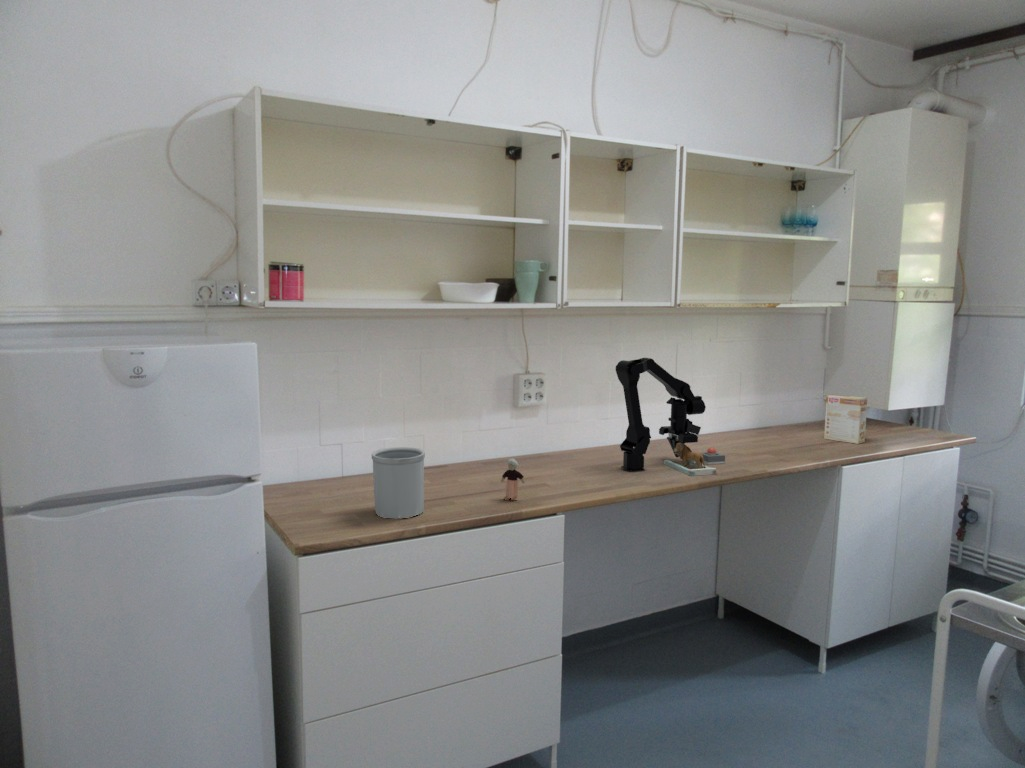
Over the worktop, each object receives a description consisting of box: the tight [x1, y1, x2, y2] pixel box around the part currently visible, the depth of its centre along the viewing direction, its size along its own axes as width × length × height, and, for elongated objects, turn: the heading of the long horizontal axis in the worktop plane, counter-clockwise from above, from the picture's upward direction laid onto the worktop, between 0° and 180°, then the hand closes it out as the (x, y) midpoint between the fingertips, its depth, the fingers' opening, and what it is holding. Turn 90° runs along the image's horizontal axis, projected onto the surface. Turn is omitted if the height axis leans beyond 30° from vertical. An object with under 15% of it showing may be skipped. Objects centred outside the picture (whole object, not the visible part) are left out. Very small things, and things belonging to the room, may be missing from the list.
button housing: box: [700, 451, 726, 465], centre depth 273 cm, size 7×7×3 cm
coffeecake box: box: [823, 394, 868, 445], centre depth 314 cm, size 15×7×20 cm, turn 42°
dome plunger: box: [706, 447, 717, 455], centre depth 272 cm, size 3×3×4 cm
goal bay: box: [663, 459, 717, 477], centre depth 261 cm, size 10×19×2 cm, turn 17°
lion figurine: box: [673, 443, 706, 469], centre depth 260 cm, size 15×5×9 cm, turn 42°
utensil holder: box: [371, 446, 426, 518], centre depth 206 cm, size 15×15×18 cm
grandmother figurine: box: [500, 458, 526, 501], centre depth 220 cm, size 8×4×13 cm, turn 82°
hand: (677, 457), depth 269 cm, fingers closed
